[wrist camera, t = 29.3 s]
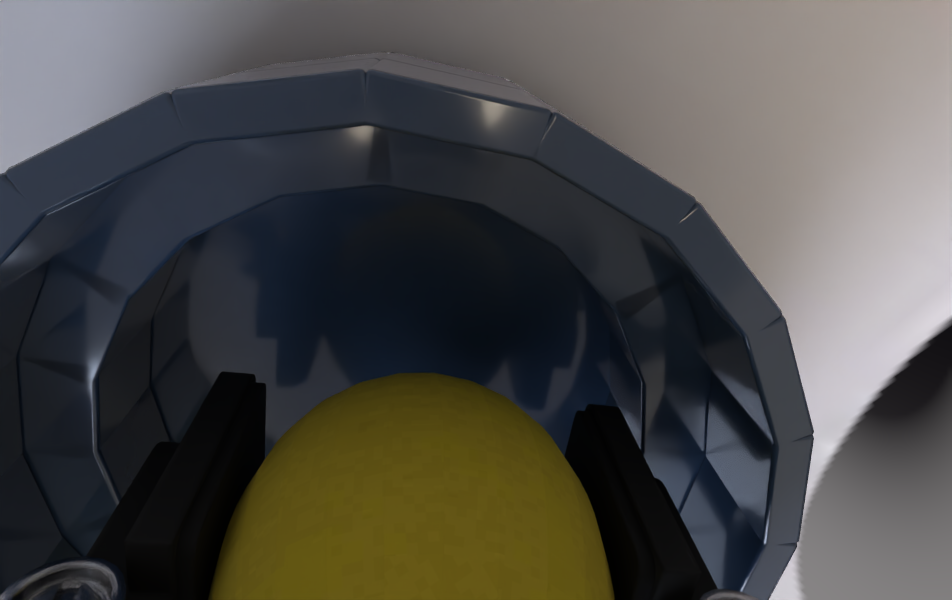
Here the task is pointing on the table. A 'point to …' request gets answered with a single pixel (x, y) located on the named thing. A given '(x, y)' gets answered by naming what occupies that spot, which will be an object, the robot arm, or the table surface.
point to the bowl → (379, 292)
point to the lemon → (414, 504)
